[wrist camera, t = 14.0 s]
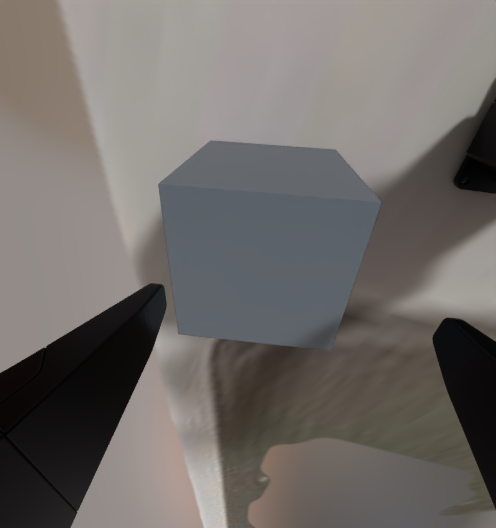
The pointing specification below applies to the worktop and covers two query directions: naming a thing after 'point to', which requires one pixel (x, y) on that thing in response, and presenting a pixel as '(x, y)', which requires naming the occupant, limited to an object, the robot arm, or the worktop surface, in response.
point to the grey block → (265, 242)
